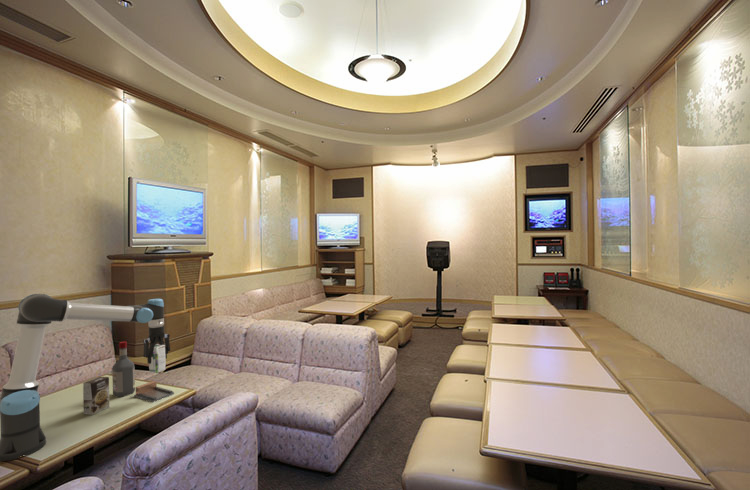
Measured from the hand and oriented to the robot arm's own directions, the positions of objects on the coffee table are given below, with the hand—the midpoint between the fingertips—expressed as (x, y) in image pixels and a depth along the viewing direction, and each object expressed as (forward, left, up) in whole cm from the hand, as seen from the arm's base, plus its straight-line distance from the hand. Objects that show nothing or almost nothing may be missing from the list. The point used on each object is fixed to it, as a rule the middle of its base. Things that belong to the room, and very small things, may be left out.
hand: (157, 366), depth 197 cm
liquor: (-6, +23, -17) cm, 29 cm away
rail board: (0, +4, -17) cm, 17 cm away
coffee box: (-24, +13, -17) cm, 32 cm away
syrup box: (0, 0, -3) cm, 3 cm away
